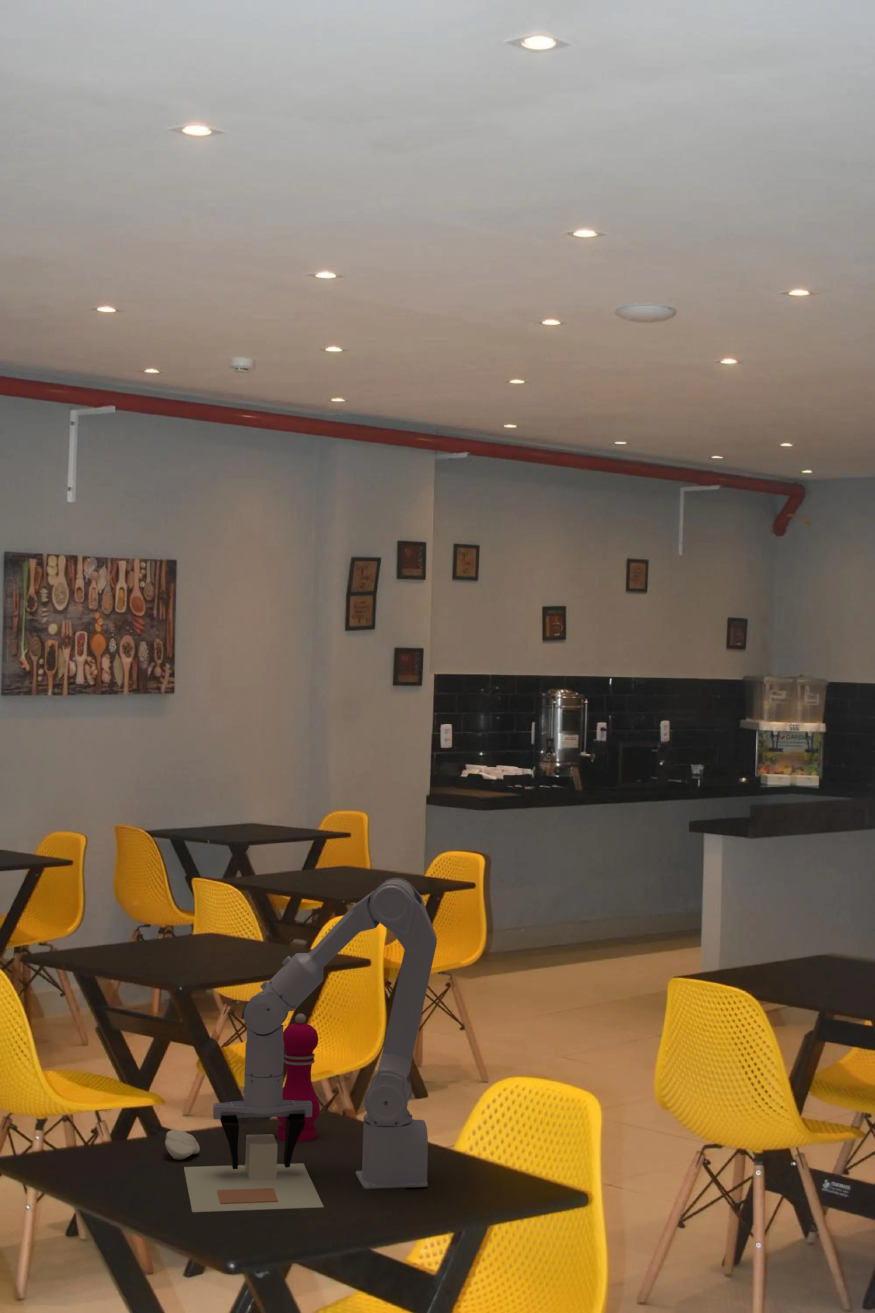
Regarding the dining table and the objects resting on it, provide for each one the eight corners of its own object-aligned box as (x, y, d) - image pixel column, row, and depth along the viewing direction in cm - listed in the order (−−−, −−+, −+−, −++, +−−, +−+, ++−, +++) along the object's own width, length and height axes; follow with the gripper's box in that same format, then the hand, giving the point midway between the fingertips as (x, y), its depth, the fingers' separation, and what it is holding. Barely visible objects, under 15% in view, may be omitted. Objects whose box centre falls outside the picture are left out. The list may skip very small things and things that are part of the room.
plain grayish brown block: (271, 1168, 232) (273, 1134, 232) (276, 1179, 226) (277, 1145, 226) (245, 1169, 231) (246, 1135, 231) (249, 1180, 225) (250, 1145, 225)
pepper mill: (274, 1132, 254) (278, 1009, 255) (318, 1132, 255) (322, 1010, 256) (274, 1144, 247) (278, 1017, 248) (319, 1144, 248) (323, 1018, 249)
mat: (303, 1165, 235) (303, 1163, 235) (323, 1209, 213) (323, 1207, 213) (183, 1169, 231) (183, 1167, 231) (192, 1214, 210) (192, 1212, 210)
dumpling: (169, 1152, 241) (170, 1126, 241) (202, 1153, 240) (203, 1127, 241) (160, 1165, 234) (161, 1138, 234) (194, 1166, 233) (195, 1139, 234)
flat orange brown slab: (273, 1189, 221) (273, 1188, 221) (278, 1202, 215) (278, 1200, 215) (217, 1191, 219) (217, 1190, 219) (220, 1204, 213) (220, 1203, 213)
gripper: (308, 1067, 235) (306, 1157, 234) (212, 1068, 232) (209, 1160, 231) (315, 1077, 228) (312, 1170, 227) (216, 1079, 225) (213, 1174, 224)
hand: (260, 1166), depth 229 cm, fingers open, 7 cm apart
